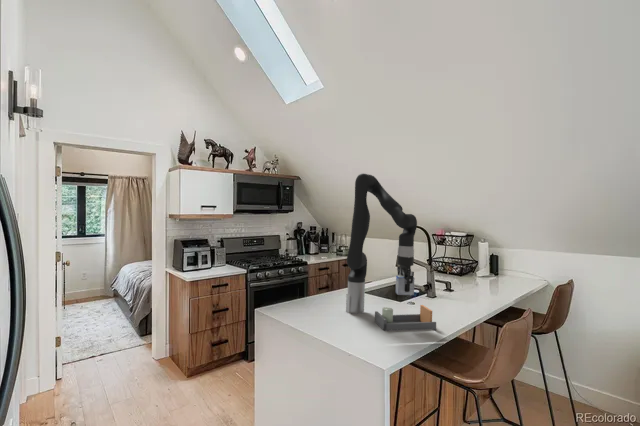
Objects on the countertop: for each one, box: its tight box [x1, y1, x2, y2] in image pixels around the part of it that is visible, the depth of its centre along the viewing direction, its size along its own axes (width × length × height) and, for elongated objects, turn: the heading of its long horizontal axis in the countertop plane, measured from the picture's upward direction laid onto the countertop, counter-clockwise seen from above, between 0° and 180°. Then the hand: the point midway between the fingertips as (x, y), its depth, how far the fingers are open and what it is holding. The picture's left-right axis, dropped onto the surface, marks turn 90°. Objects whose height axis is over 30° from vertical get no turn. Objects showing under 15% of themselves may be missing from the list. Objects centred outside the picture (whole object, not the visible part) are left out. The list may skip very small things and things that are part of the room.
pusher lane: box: [374, 310, 437, 332], centre depth 158 cm, size 26×12×6 cm, turn 100°
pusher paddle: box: [419, 304, 433, 322], centre depth 160 cm, size 1×10×8 cm, turn 10°
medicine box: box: [395, 274, 416, 296], centre depth 158 cm, size 8×4×9 cm, turn 92°
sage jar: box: [381, 307, 394, 323], centre depth 157 cm, size 5×5×8 cm
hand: (404, 290), depth 158 cm, fingers closed on medicine box, 4 cm apart
